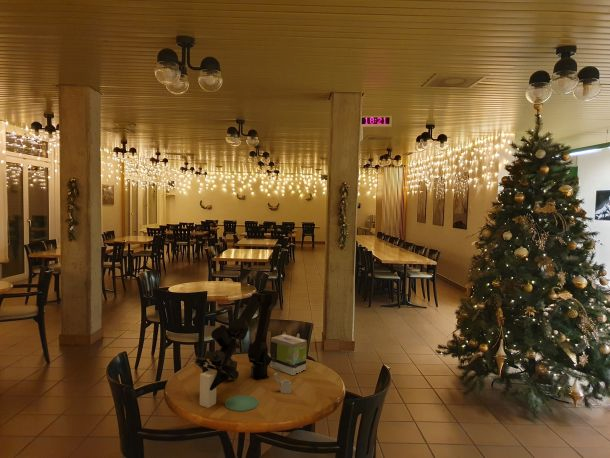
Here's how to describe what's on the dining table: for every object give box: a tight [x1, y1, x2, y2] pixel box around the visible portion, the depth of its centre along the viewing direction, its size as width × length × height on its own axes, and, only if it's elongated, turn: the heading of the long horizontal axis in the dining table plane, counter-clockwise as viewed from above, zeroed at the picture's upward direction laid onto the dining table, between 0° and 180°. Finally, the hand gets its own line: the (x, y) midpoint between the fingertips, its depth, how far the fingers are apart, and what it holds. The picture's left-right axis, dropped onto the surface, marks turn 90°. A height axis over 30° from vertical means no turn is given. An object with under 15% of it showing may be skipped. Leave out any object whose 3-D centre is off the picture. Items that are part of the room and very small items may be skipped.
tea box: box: [269, 333, 308, 376], centre depth 206 cm, size 15×10×15 cm
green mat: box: [224, 394, 260, 412], centre depth 168 cm, size 13×13×1 cm
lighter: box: [273, 372, 292, 394], centre depth 180 cm, size 7×2×8 cm, turn 86°
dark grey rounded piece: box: [225, 358, 238, 382], centre depth 190 cm, size 8×7×8 cm
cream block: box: [199, 370, 217, 408], centre depth 166 cm, size 4×4×12 cm
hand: (205, 388), depth 165 cm, fingers closed on cream block, 4 cm apart
